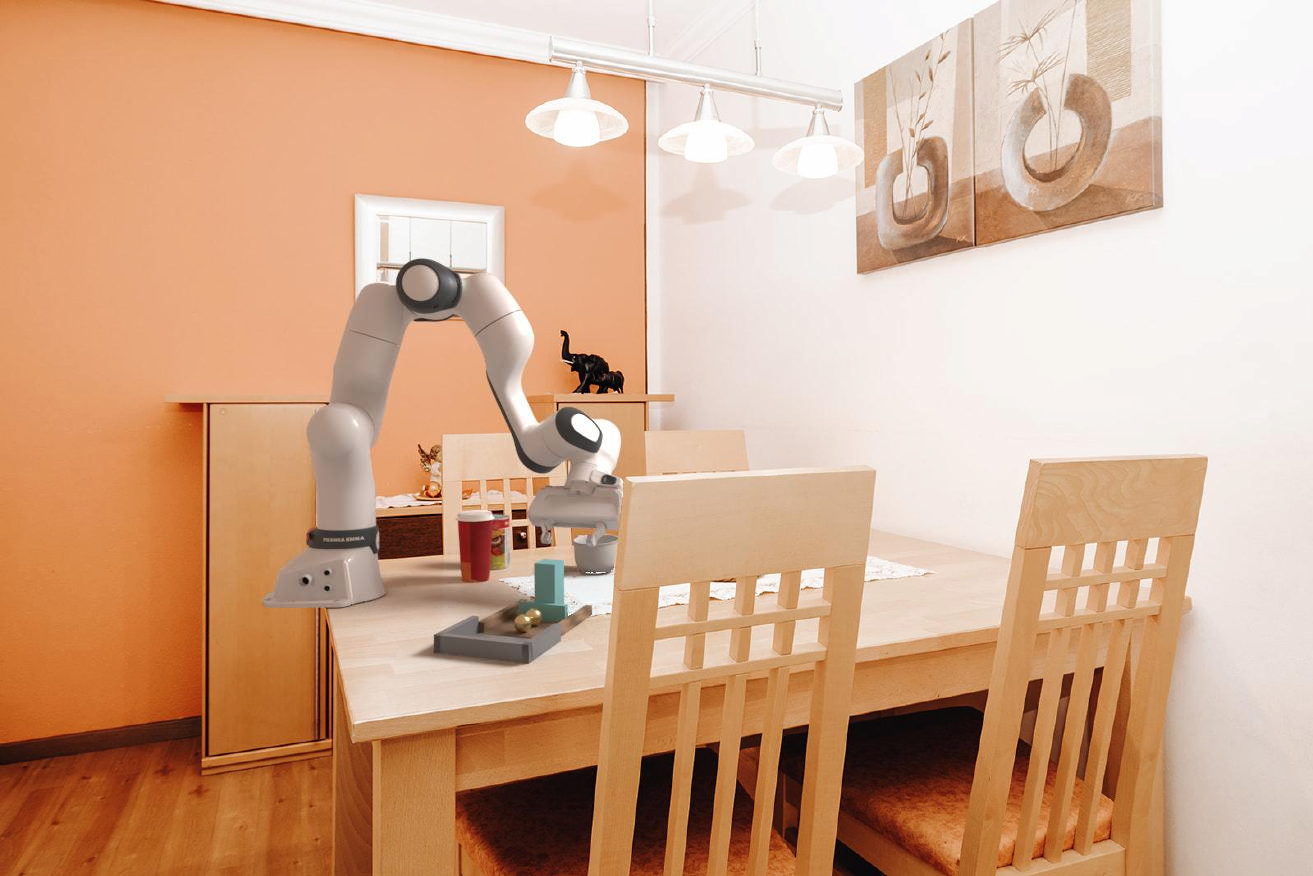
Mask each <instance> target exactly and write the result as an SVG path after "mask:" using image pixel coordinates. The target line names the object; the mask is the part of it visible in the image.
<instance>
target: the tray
mask: <svg viewBox="0 0 1313 876" xmlns="http://www.w3.org/2000/svg"><path fill="white" fill-rule="evenodd" d="M479 621H480V620H479V615H471V616H468V617H467V618H465V619H463V620H461V621H458V622H457V623H454V624H453V625H451V626H448V627H447V628H444V629H443V630H441V631H438V632H437V633H435V634H433V653H434V654H442V655H449V656H450V655H451V656H459V657H466V658H467V657H468V658H475V659H477V658H478V659H485V660H494V661H503V662H510V663H521V664H528V665H529V664H530V663H533V662H534V661H535V660H536V659H538V658H539V657H540V656H542V655H544V654H545V653H547V652H548V651H549V650H551V649H552V648H553V647H555V646H556V645H557V644H560V643H561V641H562V636H561V624H555V623H554V624H552V625H551V626H549V627H548V628H546V629H545V630H543V631H542V632H540V633H538V634H537V635H535V636H534V637H532V638H530V639H529V638H528V639H527V637H526V638H524V637H521V638H520V637H518V636H515V637H510V636H509V635H507V636H506V635H505V636H503V635H499V634H496V635H494V634H493V635H492V634H490V635H487V633H486V634H484V633H479ZM498 635H499V636H498ZM517 637H518V638H517Z"/></svg>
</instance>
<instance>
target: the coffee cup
mask: <svg viewBox="0 0 1313 876" xmlns="http://www.w3.org/2000/svg"><path fill="white" fill-rule="evenodd" d="M493 515H494V514H493V512H492V511H490V510H483V509H476V510H475V509H473V510H462V511H459V512H458V514H457V517H456V518H455V520H456V521H457V529H458V542H459V543H458V545H459V559H460V561H459V563H460V572H461V574H460V575H461V581H462V582H465V583H482V582H487V581H489V580H490V575H491V570H490V563H491V545H492V527H493V519H494V517H493Z"/></svg>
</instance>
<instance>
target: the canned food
mask: <svg viewBox="0 0 1313 876" xmlns="http://www.w3.org/2000/svg"><path fill="white" fill-rule="evenodd" d="M492 515H493V517H494V519H493V527H492V545H491V563H490V571H498V570H505V569H507V568H510V565H511V564H510V563H511V559H510V558H511V557H510V554H511V549H510V548H511V547H510V546H511V545H510V542H511V541H510V540H511V539H510V538H511V537H510V535H511V534H510V533H511V532H510V529H511V528H510V522H511V521H510V520H511V519H510V516H509V515H507V514H492Z"/></svg>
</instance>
